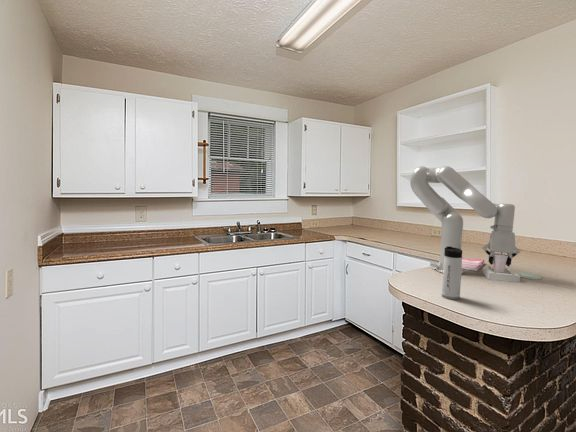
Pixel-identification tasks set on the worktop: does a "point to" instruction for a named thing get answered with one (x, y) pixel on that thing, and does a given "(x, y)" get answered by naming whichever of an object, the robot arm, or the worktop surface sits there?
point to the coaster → (529, 276)
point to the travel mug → (452, 273)
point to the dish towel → (472, 264)
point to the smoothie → (499, 262)
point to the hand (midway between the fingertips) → (499, 264)
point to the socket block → (501, 275)
